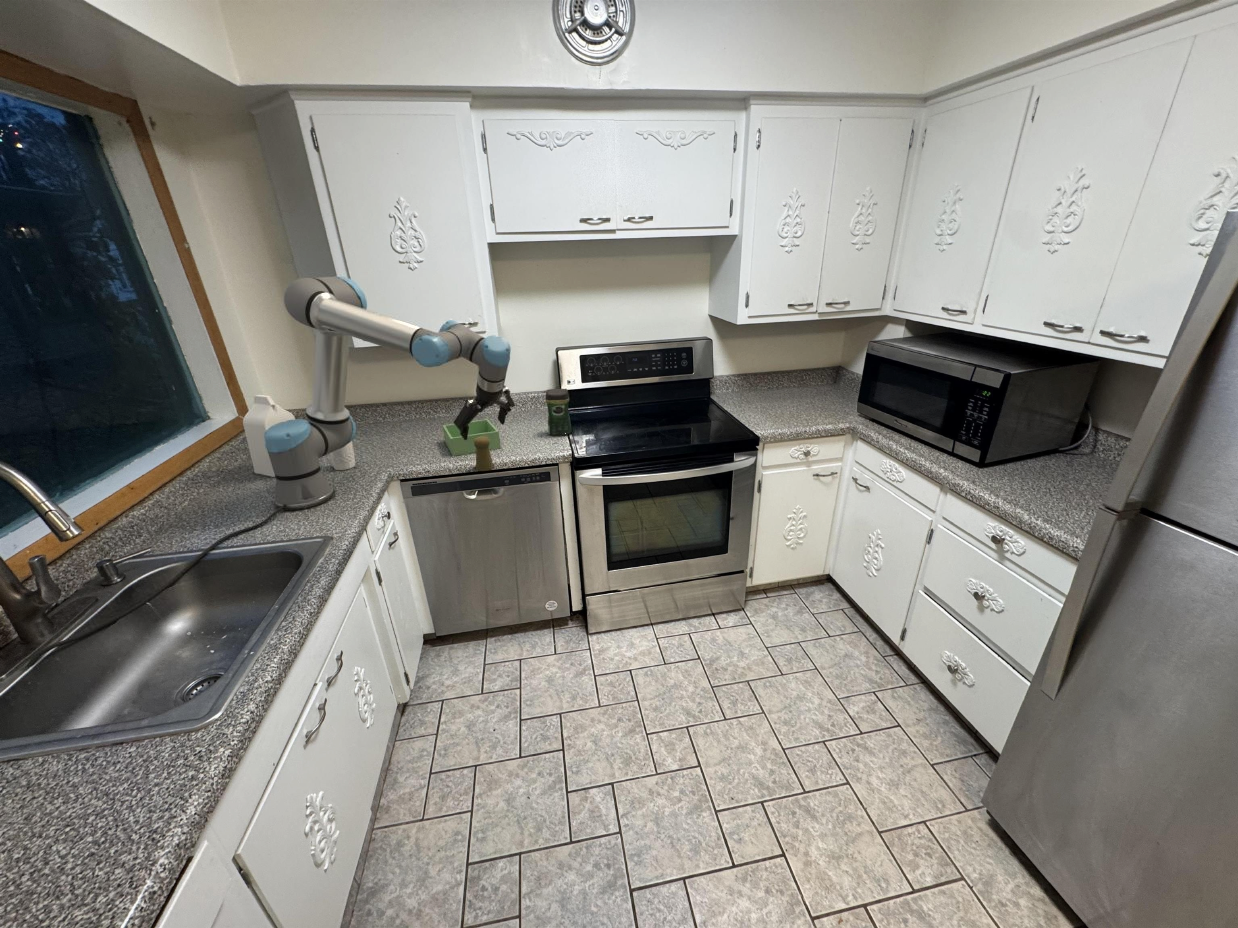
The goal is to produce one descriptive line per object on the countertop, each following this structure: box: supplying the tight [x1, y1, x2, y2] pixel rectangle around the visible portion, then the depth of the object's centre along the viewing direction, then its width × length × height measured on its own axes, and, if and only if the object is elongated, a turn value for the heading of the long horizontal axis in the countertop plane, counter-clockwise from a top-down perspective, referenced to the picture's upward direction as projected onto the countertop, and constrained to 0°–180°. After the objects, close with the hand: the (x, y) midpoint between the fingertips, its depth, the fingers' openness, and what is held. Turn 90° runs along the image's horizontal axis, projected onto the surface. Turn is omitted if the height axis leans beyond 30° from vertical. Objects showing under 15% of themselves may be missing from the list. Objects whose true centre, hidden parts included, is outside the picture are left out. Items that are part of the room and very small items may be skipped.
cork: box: [474, 436, 495, 472], centre depth 172 cm, size 6×6×11 cm
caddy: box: [442, 418, 501, 457], centre depth 194 cm, size 18×18×7 cm
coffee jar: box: [544, 388, 572, 437], centre depth 203 cm, size 10×8×19 cm
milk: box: [242, 394, 296, 478], centre depth 169 cm, size 12×12×26 cm
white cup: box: [328, 440, 356, 471], centre depth 174 cm, size 8×8×10 cm
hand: (482, 429), depth 160 cm, fingers open, 13 cm apart
